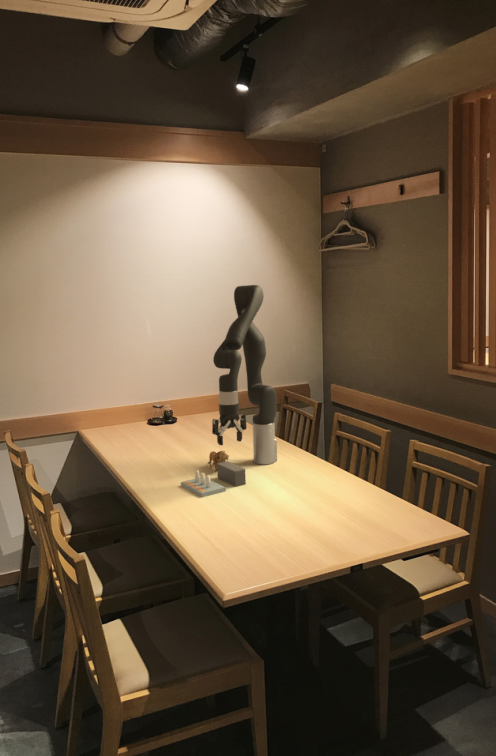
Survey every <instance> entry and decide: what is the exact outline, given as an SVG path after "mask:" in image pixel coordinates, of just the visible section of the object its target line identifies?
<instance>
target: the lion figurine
mask: <svg viewBox="0 0 496 756" xmlns="http://www.w3.org/2000/svg"><path fill="white" fill-rule="evenodd" d="M208 458H209V461H208V462H207V464H208V466H209V467H208V468H209V469H211V468H212V465H213V466H214V469H215V470H214V472H216V473H217V463H221V462H225V461H228V460H229V458H230V455H229V454H227V453H226V451H225V450H220V451H218V452H216V451H213V450H212V451H211V452H210V453H209V457H208Z"/></svg>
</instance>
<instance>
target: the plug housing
mask: <svg viewBox="0 0 496 756" xmlns="http://www.w3.org/2000/svg"><path fill="white" fill-rule="evenodd" d="M216 473H217V479H219V480H221V481H223V482H225V483H227V484H229V485H232V486H233V487H235V488H236V487H239V486H243V485H246V484H247V482H246V480H247V479H246V468H244V467H241V466H240V465H237V464H235V463H232V462H230V461H228V460H226V461H225V462H221V463H217V472H216Z"/></svg>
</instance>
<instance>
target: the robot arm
mask: <svg viewBox="0 0 496 756" xmlns="http://www.w3.org/2000/svg"><path fill="white" fill-rule="evenodd" d="M233 301H234V306H235V310H236V314H237V318H236V319H235V320H234V321H233V322H232V323H231V324H230V326H229V327H228V330H227V332H226V335H225V338H224V340H223V341H222V343H220V345H219V346H218V348H217V349H216V350H215V351H214V355H213V359H212V360H213V364H214V366H215V367H216V368H218V369H223V370H224V369H225V370H227V369H229V371H228V373H226V374H222V375H220V376H219V378H218V390H219V391H218V412H219V413H218V414H219V418H217V419H216V418H213V419H212V426H211V428H212V429H211V430H212V431H211V433H212V435H214V436H216V441H217V444H218V445H219V446H223V445H224V437H223V436H224V432H226V431H227V429H233V428H235V430H236V441H237V442H242V440H243V432H244V431H245V430H247V417H246V414H242V413H239V412H240V409H239V408H240V407H239V406H240V405H239V404H240V402H239V401H240V400H239V391H238V389H239V388H238V387H239V386H238V378H239V372H240V368H241V365H242V355H241V353H240V352H239V350H240V349H242V352H243V355H244V361H245V370H246V371H245V372H246V382H247V384H246V385H247V387H246V388H247V396H248V397H247V398H248V401H249V402H250V403H251V405H253V406H257V407H259V409H258V410H259V412H258V413H257V414H254V415H253V416H252V444H253V445H252V446H253V448H252V449H253V450H252V451H253V463H254V464H257V465H270V464H274V463H275V462H277V461H278V445H277V444H278V440H277V439H276V435H275V434H276V433H275V432H276V431H275V429H276V428H275V419H276V415H277V400H278V399H277V391H276V390H275V388H274V387H273V386H271V385H265V384H263V380H262V369H263V365H264V363H265V360H266V357H267V349H266V348H267V347H266V343H265V341H266V340H265V337H264V335H263V333H262V332H261V331H260V330H259V328H258V326H257V325H255V322H253V321H254V319H255V318H256V316H257V313H258V312H259V311H260V309H261V306H262V304H263V302H264V291H263V289H262V287H261V286H260V285H257V284H249V285H239V286H236V287H235V288H234V292H233ZM238 421H239V422H238Z"/></svg>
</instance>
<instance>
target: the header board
mask: <svg viewBox="0 0 496 756" xmlns="http://www.w3.org/2000/svg"><path fill="white" fill-rule="evenodd" d="M180 486H181V487H183V488H185V489H187V490H189V491H190V492H192V493H194V494H196V495H198V496H199V497H202V498H204V497H208V496H212V495H215V494H219V493H224V492H226V487H225V486H223V485H221V484H220V483H217V482H216V481H213V480H211V475H205V472H200V470H199V469H196V470H194V478H192V479H187V480H183V481H180Z"/></svg>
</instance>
